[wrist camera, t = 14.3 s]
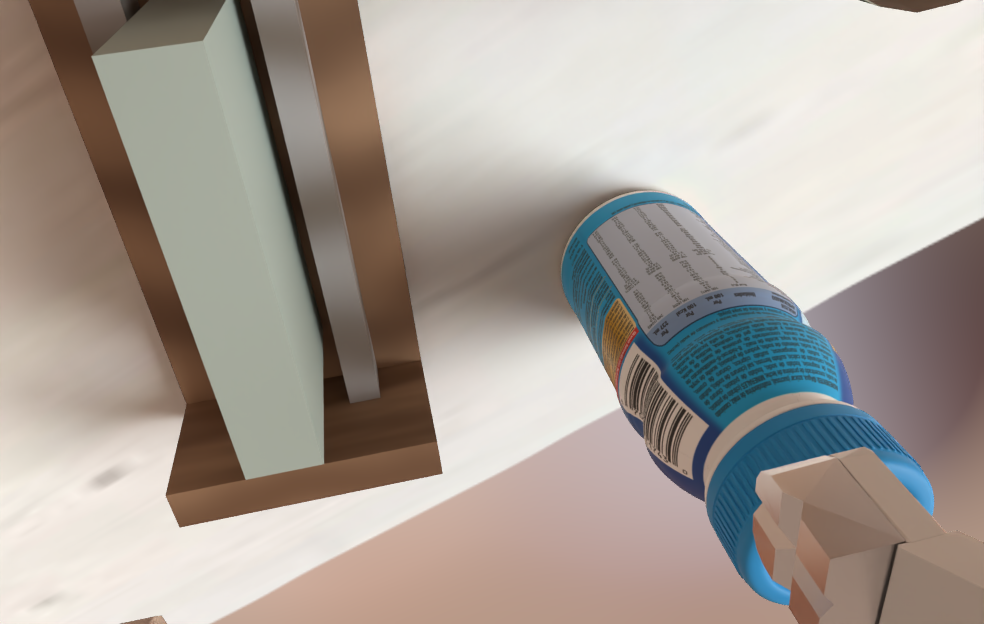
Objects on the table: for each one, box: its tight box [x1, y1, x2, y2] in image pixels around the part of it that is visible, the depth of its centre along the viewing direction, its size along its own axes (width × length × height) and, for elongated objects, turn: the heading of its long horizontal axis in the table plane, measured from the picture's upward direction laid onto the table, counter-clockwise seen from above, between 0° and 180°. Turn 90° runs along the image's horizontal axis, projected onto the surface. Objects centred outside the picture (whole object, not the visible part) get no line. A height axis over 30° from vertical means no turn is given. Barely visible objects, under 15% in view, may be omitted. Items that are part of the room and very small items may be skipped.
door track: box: [29, 0, 443, 527], centre depth 32 cm, size 26×12×8 cm, turn 6°
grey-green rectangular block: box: [91, 0, 324, 480], centre depth 30 cm, size 16×3×10 cm, turn 6°
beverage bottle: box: [561, 190, 934, 605], centre depth 33 cm, size 8×8×20 cm
